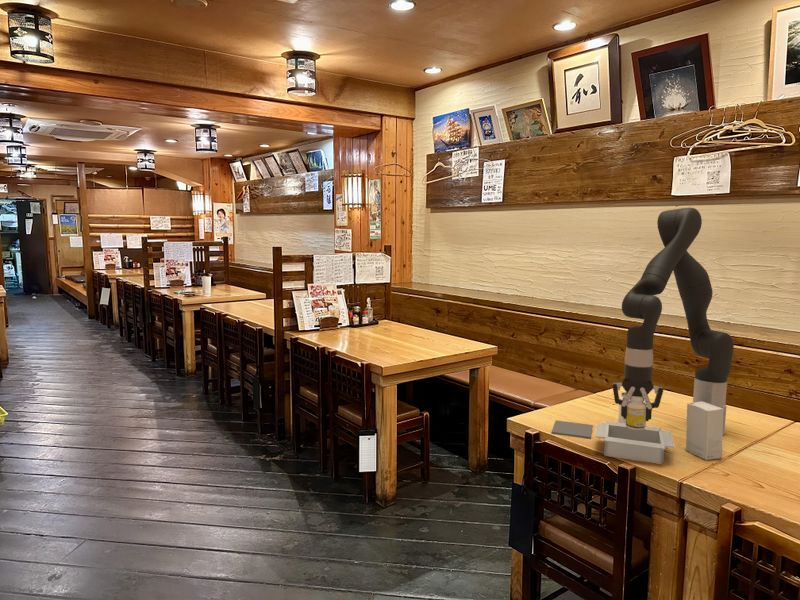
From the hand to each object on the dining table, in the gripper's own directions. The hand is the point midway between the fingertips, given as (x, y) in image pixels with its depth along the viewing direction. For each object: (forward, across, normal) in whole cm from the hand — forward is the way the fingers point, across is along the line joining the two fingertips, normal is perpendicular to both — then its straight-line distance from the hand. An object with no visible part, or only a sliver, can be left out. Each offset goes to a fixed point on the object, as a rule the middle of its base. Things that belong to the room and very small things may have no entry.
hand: (635, 419), depth 163 cm
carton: (+10, 0, 0) cm, 10 cm away
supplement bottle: (+3, 0, 0) cm, 3 cm away
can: (+10, +1, -19) cm, 22 cm away
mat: (+10, +18, -12) cm, 24 cm away
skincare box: (+10, -19, -6) cm, 22 cm away
